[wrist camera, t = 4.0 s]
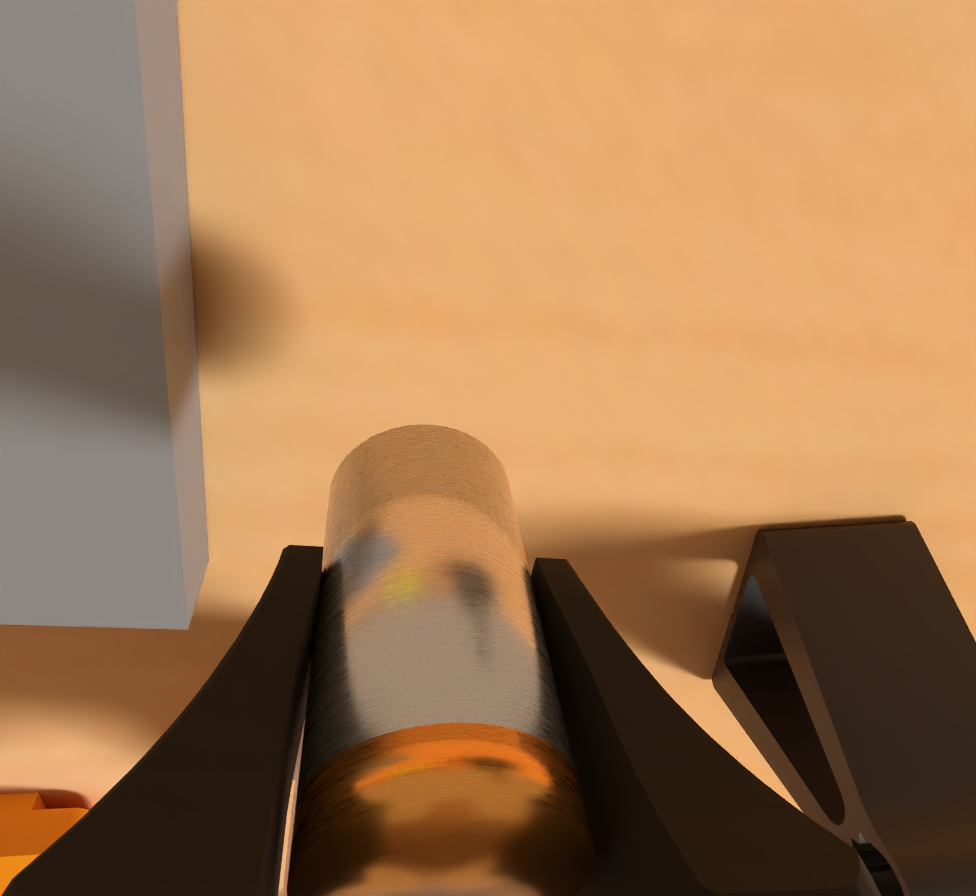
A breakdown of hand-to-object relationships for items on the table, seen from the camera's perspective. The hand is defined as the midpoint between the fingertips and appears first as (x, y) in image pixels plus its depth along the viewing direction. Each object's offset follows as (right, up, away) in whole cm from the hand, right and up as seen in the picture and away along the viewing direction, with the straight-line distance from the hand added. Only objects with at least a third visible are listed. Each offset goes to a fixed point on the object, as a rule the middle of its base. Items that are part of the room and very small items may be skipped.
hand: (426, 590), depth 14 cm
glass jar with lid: (0, +2, +2) cm, 3 cm away
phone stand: (+14, -4, +15) cm, 21 cm away
